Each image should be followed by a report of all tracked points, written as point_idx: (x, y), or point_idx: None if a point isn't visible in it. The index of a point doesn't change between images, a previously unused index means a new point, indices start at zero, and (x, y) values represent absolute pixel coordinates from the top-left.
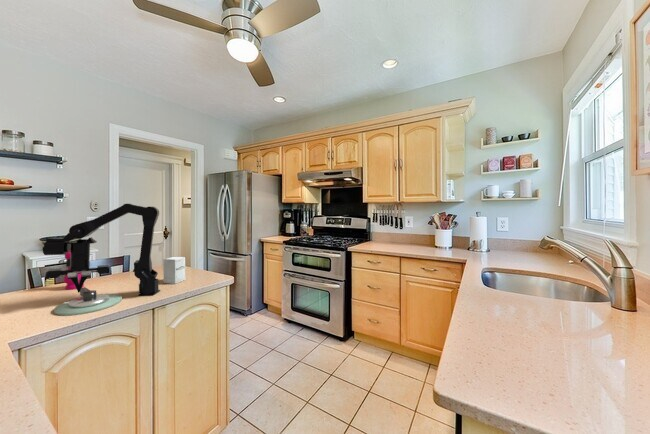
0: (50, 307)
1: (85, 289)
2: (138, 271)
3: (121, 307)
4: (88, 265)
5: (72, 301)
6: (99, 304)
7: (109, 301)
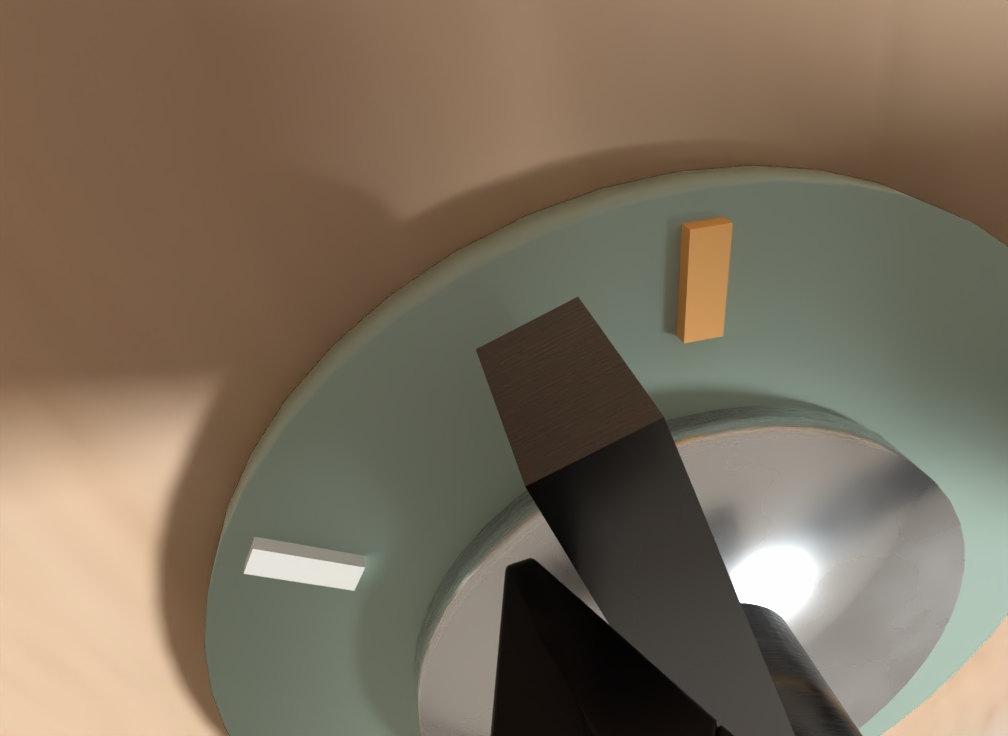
0: (16, 516)
1: (700, 658)
2: None
3: (938, 730)
4: None
5: (460, 708)
6: None
7: None
